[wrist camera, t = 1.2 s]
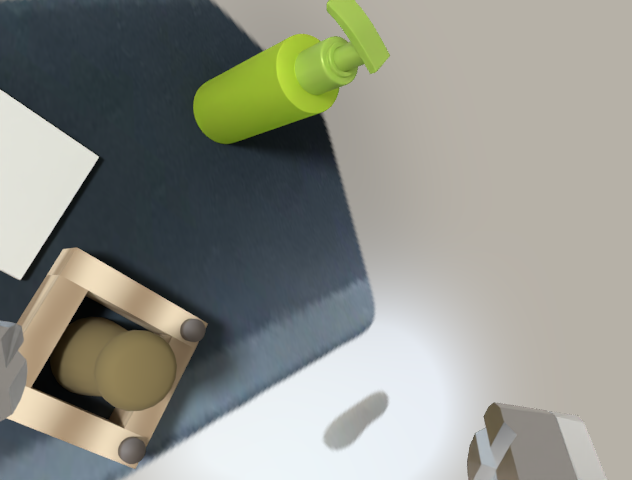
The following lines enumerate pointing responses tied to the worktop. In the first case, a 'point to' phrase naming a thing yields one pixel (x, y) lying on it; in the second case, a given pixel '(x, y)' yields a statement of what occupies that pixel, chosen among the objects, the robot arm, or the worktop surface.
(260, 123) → the soap dispenser
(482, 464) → the robot arm
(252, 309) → the worktop surface
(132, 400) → the brown pawn
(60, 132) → the white mat
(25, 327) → the sleeve block
